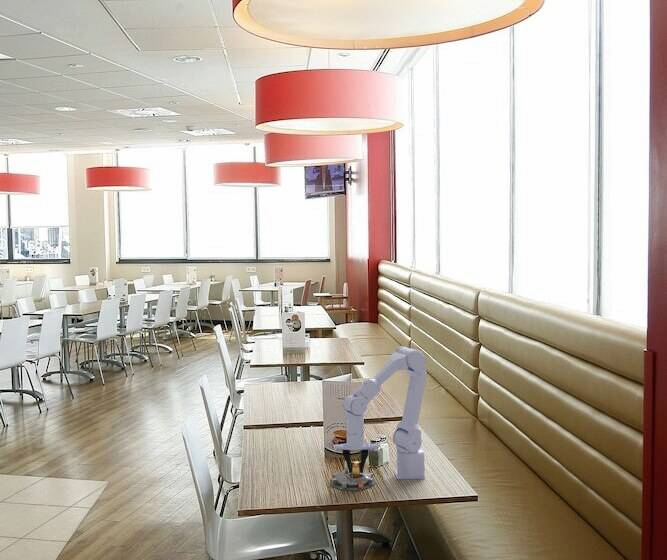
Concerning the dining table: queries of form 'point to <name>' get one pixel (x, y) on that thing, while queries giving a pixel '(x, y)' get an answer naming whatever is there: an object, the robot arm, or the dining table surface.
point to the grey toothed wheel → (347, 481)
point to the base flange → (352, 487)
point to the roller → (355, 469)
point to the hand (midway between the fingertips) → (355, 472)
